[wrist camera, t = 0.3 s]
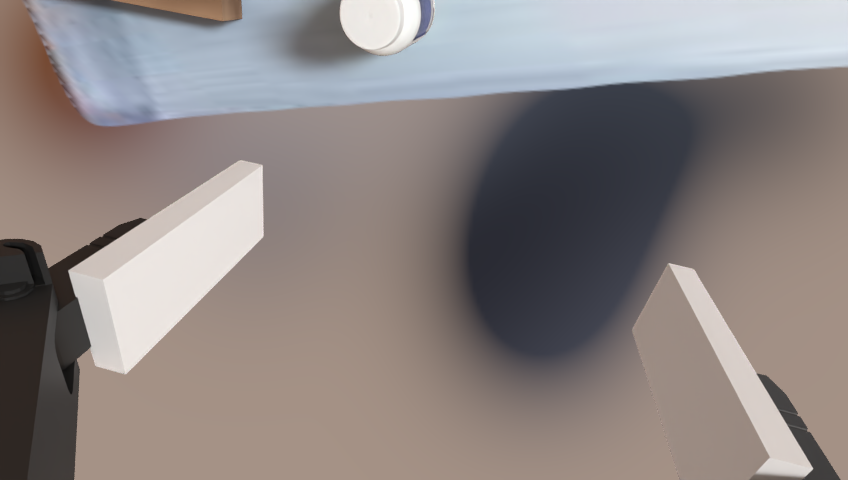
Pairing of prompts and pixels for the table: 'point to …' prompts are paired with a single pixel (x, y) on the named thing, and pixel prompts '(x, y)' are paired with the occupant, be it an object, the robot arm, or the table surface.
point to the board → (196, 7)
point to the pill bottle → (386, 23)
